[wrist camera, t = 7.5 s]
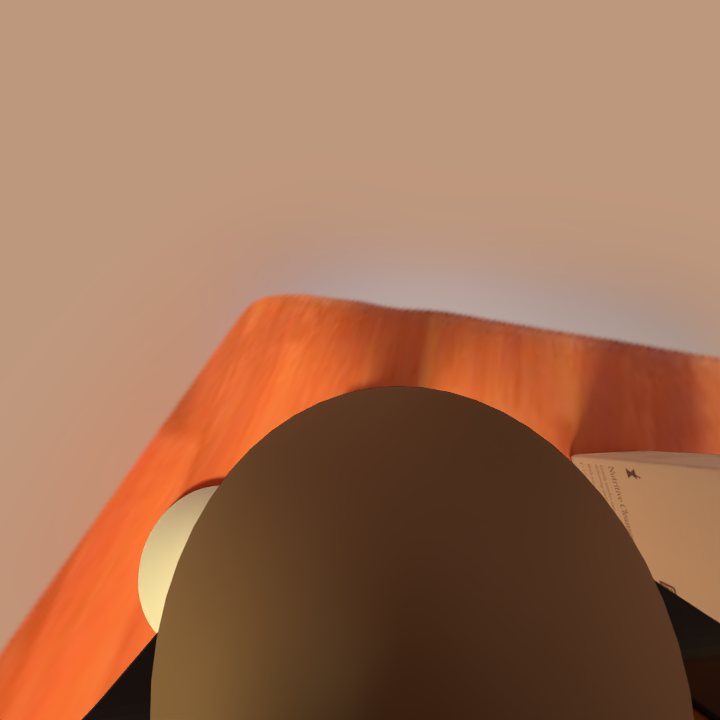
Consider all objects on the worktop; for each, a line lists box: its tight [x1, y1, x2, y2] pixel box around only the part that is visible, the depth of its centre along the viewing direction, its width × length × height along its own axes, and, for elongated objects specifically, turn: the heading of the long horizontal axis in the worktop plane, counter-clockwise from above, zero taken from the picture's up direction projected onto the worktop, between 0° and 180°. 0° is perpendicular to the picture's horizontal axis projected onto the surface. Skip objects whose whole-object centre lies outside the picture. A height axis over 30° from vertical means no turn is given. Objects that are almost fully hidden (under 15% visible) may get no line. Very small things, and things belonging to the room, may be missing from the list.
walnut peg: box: [150, 386, 694, 720], centre depth 9 cm, size 5×5×13 cm
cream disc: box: [138, 485, 219, 633], centre depth 20 cm, size 10×10×1 cm
